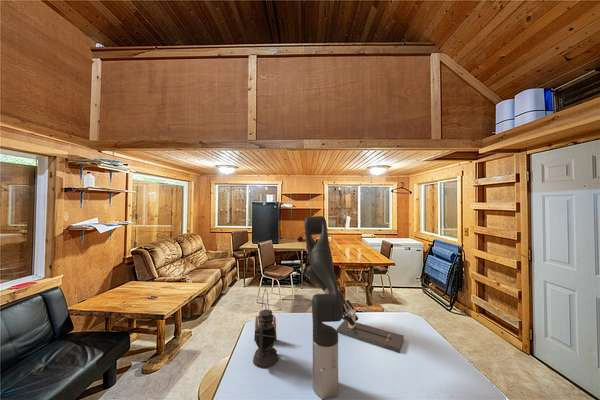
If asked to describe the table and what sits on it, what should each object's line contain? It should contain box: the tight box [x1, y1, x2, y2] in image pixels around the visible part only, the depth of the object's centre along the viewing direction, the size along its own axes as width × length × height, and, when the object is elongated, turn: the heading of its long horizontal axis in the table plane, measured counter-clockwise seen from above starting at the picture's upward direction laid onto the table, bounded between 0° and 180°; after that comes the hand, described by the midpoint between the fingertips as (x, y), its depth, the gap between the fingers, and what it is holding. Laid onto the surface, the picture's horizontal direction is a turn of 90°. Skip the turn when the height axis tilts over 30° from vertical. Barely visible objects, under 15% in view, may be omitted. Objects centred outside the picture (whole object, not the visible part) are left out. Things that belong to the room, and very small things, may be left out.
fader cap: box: [348, 308, 357, 329], centre depth 121 cm, size 2×4×8 cm, turn 148°
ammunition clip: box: [254, 315, 278, 343], centre depth 112 cm, size 11×2×12 cm, turn 87°
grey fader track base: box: [336, 320, 405, 354], centre depth 116 cm, size 30×12×2 cm, turn 58°
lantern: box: [252, 288, 279, 369], centre depth 99 cm, size 12×11×30 cm
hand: (355, 322), depth 120 cm, fingers open, 5 cm apart
